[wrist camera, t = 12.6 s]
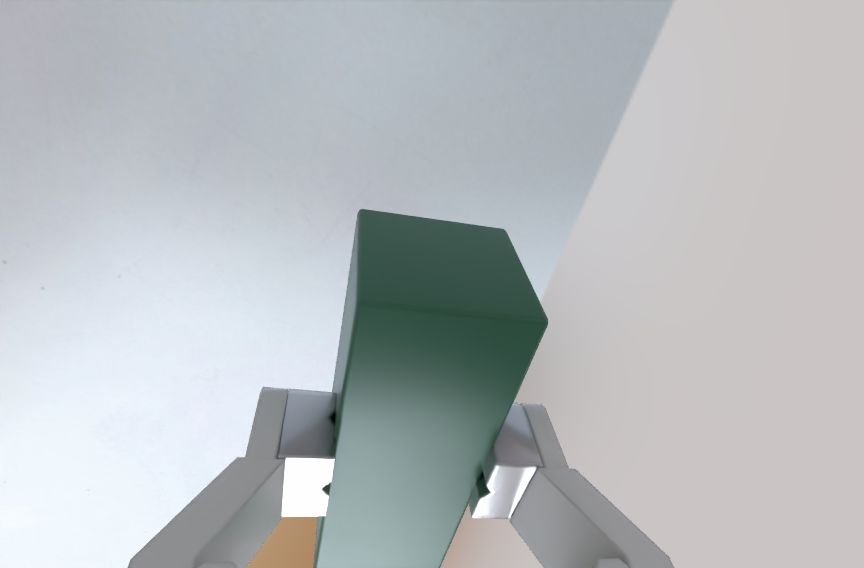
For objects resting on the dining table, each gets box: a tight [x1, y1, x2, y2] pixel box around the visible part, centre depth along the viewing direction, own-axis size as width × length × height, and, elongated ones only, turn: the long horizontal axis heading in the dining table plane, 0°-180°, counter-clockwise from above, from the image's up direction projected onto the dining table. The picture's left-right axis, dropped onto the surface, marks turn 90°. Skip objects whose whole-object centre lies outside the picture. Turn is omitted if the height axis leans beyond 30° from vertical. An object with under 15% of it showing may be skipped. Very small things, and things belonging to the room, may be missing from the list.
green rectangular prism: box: [313, 209, 548, 568], centre depth 11 cm, size 8×3×3 cm, turn 168°
